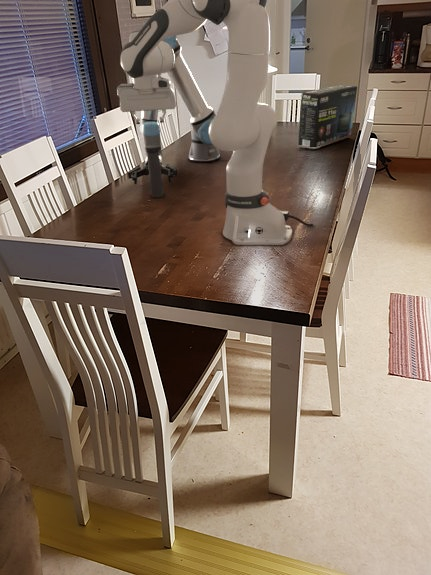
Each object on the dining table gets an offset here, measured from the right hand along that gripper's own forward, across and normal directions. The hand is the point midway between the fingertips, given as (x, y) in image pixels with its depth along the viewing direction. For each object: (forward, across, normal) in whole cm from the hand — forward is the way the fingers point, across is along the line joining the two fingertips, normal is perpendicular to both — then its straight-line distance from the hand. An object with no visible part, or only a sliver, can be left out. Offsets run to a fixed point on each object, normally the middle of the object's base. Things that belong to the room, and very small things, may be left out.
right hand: (150, 123), depth 169 cm
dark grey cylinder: (+28, 0, 0) cm, 28 cm away
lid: (+9, 0, 0) cm, 9 cm away
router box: (+28, +90, +62) cm, 113 cm away
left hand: (+22, -2, +2) cm, 22 cm away
